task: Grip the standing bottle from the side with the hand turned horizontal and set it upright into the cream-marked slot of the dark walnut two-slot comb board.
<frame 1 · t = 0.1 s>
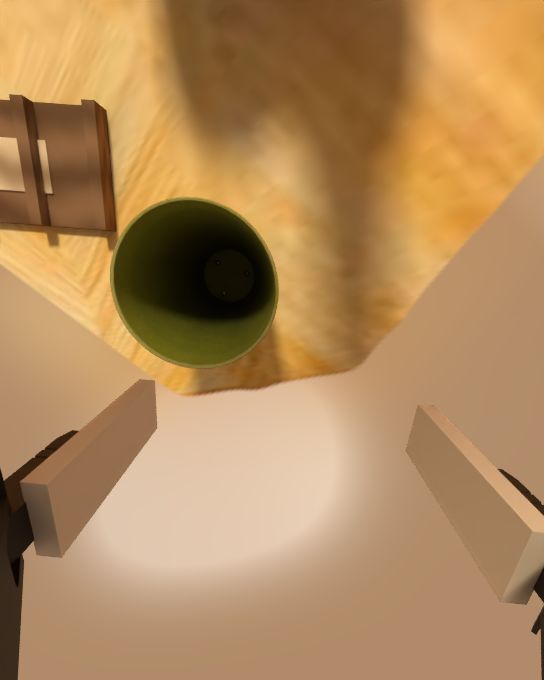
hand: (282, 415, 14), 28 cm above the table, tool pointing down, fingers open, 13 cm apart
flower pot: (228, 277, 40), on the table
slot board: (41, 168, 37), on the table
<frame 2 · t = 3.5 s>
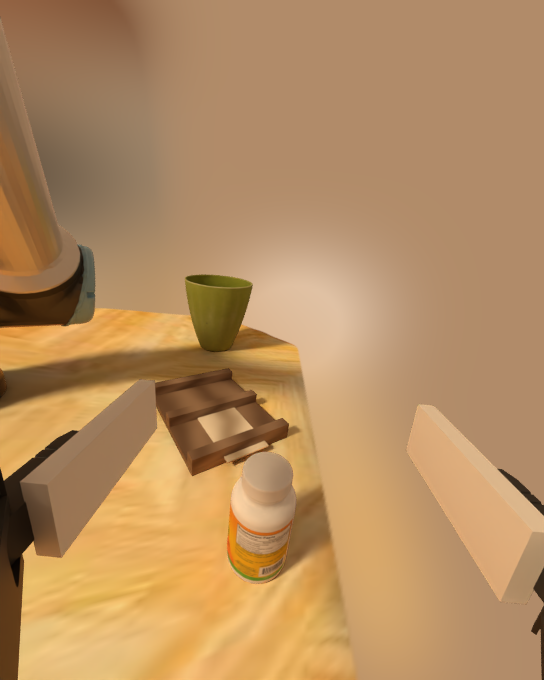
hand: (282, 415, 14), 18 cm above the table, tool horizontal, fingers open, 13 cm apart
flower pot: (216, 346, 68), on the table
slot board: (214, 415, 43), on the table
supplement bottle: (256, 552, 25), on the table
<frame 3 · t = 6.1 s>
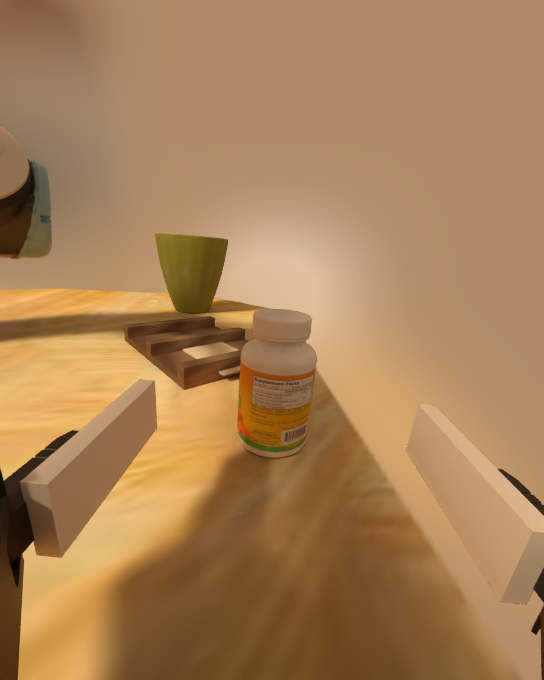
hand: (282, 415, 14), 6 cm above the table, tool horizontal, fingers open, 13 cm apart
flower pot: (193, 311, 64), on the table
slot board: (200, 350, 39), on the table
supplement bottle: (271, 438, 22), on the table
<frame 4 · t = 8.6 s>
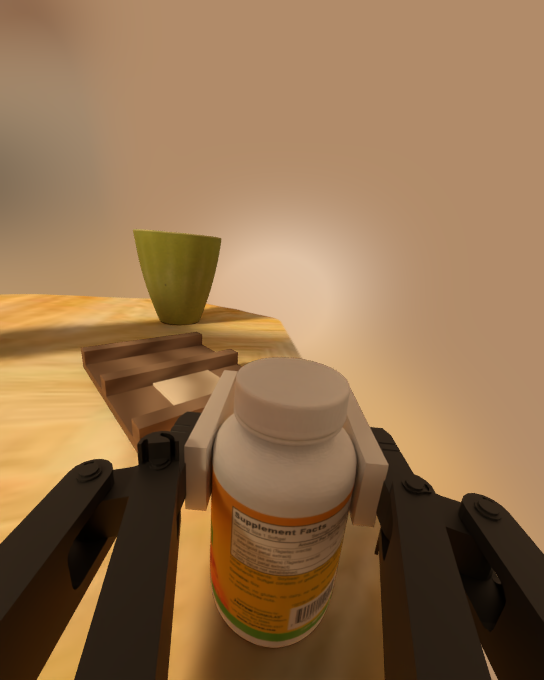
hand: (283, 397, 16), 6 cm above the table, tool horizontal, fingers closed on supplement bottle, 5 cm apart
flower pot: (180, 321, 55), on the table
slot board: (179, 382, 30), on the table
supplement bottle: (270, 575, 13), on the table, touching gripper
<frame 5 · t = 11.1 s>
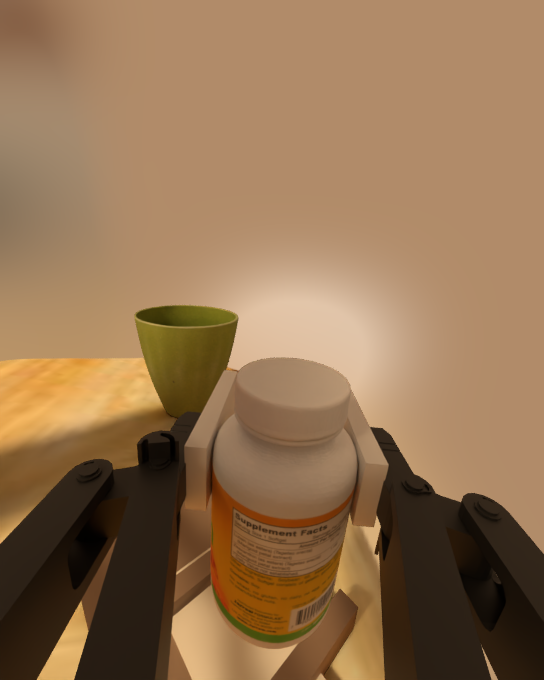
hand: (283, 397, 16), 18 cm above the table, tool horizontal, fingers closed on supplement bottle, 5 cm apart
flower pot: (190, 408, 47), on the table
slot board: (201, 589, 22), on the table
supplement bottle: (270, 576, 13), point 11 cm above the table, touching gripper
when the fingers open (8 cm above the table, at t = 13.5 s): supplement bottle drops 1 cm, resting on slot board.
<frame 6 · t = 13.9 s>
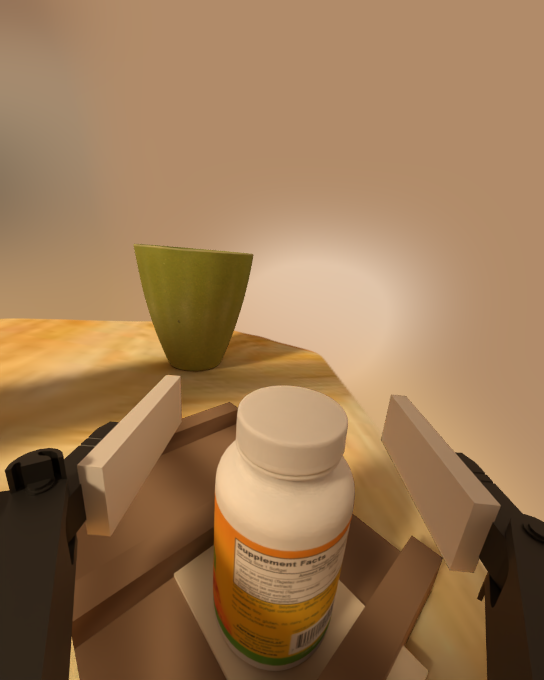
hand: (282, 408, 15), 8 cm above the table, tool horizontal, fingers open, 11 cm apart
flower pot: (196, 362, 41), on the table
slot board: (218, 538, 16), on the table
supplement bottle: (271, 596, 13), point 1 cm above the table, touching slot board
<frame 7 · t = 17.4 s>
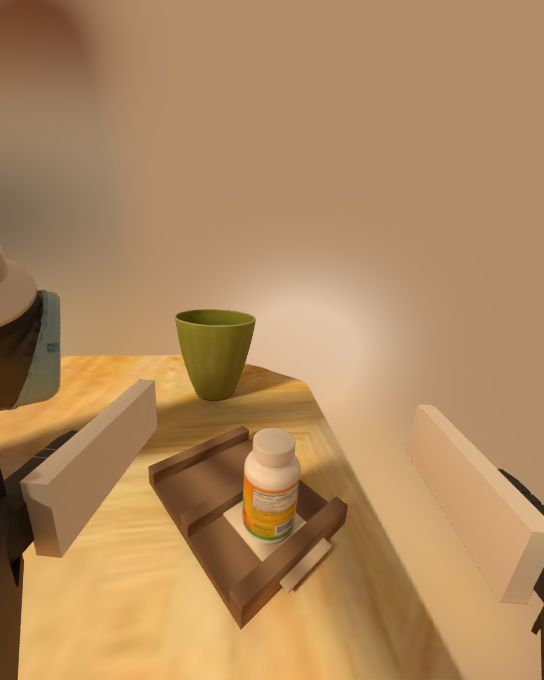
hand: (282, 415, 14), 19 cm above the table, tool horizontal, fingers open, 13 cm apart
flower pot: (215, 393, 57), on the table
slot board: (241, 501, 32), on the table
supplement bottle: (268, 522, 29), point 1 cm above the table, touching slot board
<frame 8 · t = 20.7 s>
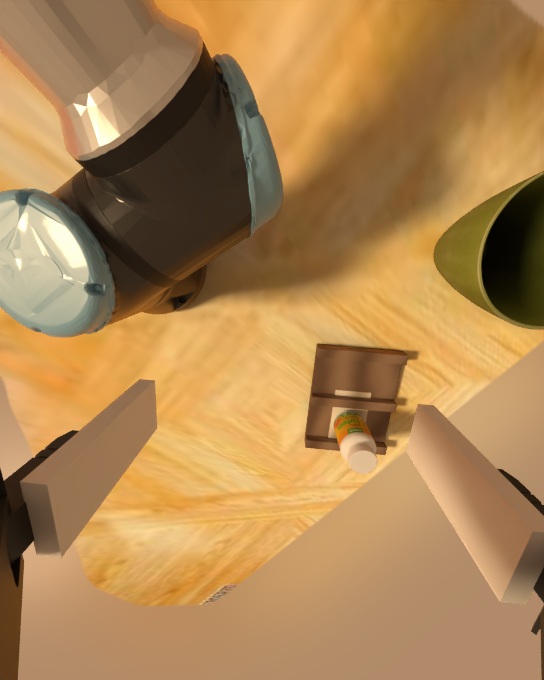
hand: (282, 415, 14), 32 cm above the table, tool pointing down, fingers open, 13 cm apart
flower pot: (458, 253, 41), on the table
slot board: (350, 397, 48), on the table
supplement bottle: (348, 422, 49), point 1 cm above the table, touching slot board
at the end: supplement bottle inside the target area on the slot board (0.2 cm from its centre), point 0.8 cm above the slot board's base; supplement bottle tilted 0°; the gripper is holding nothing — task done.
